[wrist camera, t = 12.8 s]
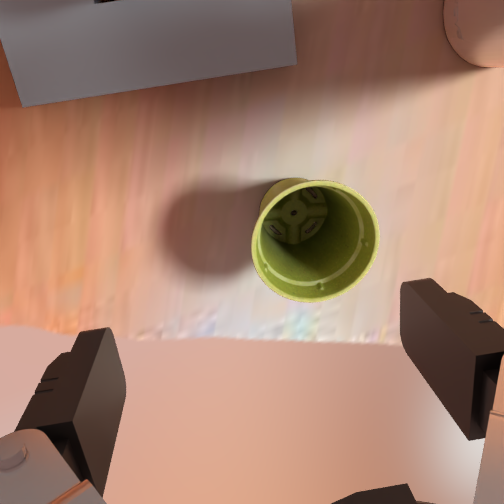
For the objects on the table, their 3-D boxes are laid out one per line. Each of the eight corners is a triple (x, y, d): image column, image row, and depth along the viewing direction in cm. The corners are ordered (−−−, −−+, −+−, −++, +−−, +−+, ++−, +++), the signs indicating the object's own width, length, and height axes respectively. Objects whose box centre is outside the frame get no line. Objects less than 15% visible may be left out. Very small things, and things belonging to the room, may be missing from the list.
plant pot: (290, 134, 38) (314, 152, 30) (366, 203, 41) (405, 236, 33) (219, 217, 40) (224, 254, 32) (296, 276, 43) (318, 324, 35)
